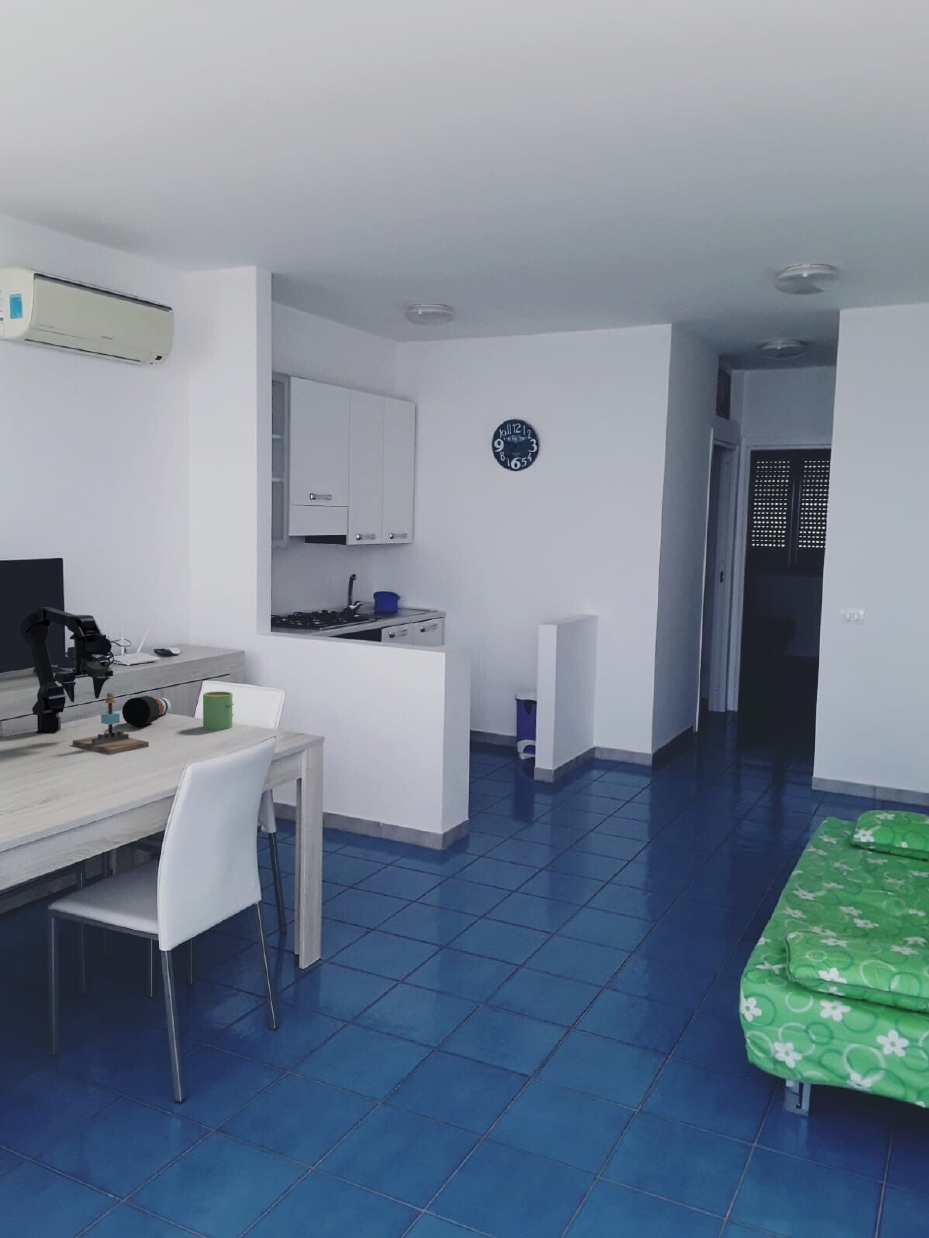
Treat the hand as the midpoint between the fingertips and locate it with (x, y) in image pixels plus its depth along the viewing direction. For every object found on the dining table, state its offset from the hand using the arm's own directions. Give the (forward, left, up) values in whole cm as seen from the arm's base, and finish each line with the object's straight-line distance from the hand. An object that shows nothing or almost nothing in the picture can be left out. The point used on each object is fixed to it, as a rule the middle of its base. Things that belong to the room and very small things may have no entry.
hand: (84, 700), depth 329 cm
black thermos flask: (+15, +33, -13) cm, 39 cm away
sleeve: (+11, -11, -5) cm, 16 cm away
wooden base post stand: (+11, -11, -13) cm, 20 cm away
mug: (+41, +20, -13) cm, 47 cm away
